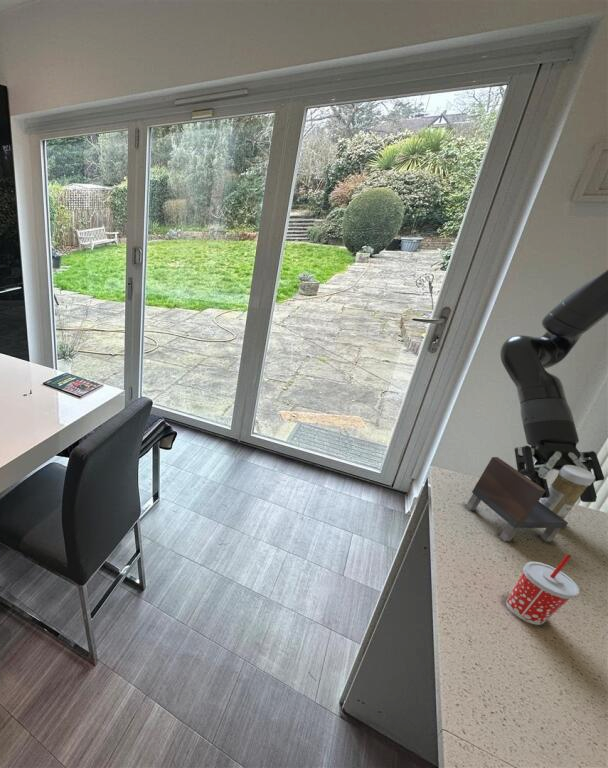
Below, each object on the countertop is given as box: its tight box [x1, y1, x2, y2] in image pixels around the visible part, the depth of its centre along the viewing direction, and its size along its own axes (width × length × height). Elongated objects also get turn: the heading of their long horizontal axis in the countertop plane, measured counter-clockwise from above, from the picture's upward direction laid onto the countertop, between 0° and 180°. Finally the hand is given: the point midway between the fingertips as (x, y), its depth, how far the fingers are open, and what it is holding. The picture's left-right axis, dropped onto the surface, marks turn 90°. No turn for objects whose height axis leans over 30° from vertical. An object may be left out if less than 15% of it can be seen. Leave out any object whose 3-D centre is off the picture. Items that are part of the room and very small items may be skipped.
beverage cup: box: [505, 554, 580, 626], centre depth 65 cm, size 6×6×14 cm
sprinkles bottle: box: [539, 465, 595, 520], centre depth 84 cm, size 5×5×14 cm
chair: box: [465, 456, 569, 542], centre depth 83 cm, size 10×10×14 cm
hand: (566, 499), depth 83 cm, fingers open, 8 cm apart
